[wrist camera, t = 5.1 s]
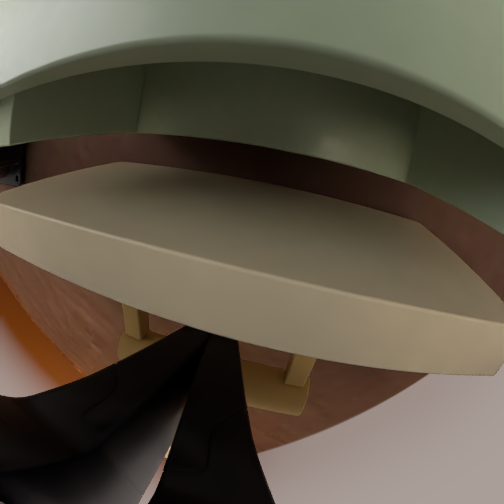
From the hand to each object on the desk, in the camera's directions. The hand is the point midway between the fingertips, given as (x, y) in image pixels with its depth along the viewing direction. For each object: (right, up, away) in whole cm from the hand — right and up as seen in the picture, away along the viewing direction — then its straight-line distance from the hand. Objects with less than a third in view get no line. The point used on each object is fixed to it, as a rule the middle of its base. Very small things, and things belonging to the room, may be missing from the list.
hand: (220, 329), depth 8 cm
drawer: (+2, +7, +1) cm, 7 cm away
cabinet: (+3, +13, -1) cm, 14 cm away
